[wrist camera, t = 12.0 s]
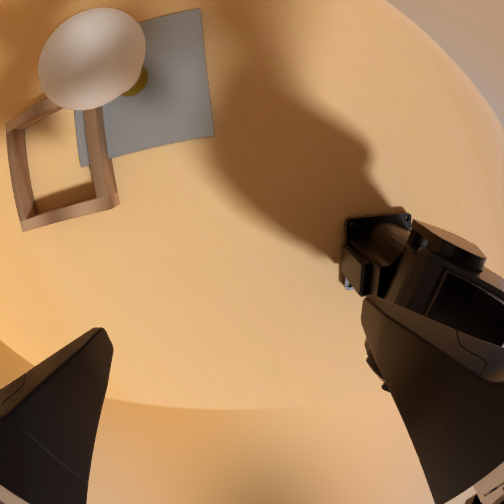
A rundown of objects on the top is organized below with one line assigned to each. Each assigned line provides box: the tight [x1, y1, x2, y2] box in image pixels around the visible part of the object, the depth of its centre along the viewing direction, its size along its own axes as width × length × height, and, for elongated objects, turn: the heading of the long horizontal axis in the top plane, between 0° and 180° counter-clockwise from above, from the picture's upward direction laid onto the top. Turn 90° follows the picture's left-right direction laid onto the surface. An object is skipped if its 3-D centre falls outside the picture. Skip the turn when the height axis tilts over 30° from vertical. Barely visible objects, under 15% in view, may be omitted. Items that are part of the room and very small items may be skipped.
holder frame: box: [6, 98, 120, 232], centre depth 16 cm, size 10×10×2 cm
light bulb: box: [38, 7, 148, 110], centre depth 11 cm, size 6×6×10 cm
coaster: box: [74, 8, 215, 167], centre depth 16 cm, size 11×11×1 cm
